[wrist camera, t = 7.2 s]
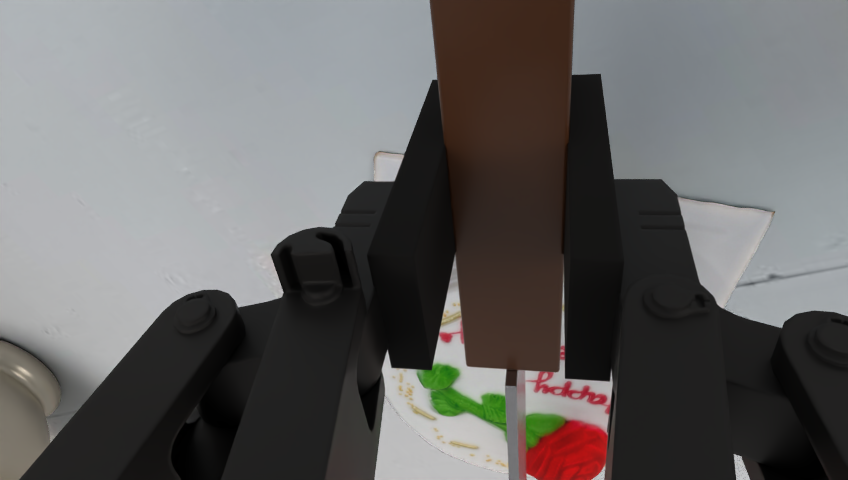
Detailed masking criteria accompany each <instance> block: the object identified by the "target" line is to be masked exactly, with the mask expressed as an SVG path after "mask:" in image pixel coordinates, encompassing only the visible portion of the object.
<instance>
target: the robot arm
mask: <svg viewBox="0 0 848 480" xmlns="http://www.w3.org/2000/svg"><path fill="white" fill-rule="evenodd" d="M455 253H456V250H455V240H454V230H453V220H452V210H451V200H450V190H449V180H448V170H447V160H446V150H445V145H444V139H443V129H442V119H441V109H440V99H439V89H438V80H432V83H431V85H430V88H429V91H428V93H427V96H426V99H425V101H424V104H423V107H422V109H421V112H420V115H419V117H418V120H417V123H416V125H415V128H414V131H413V133H412V136H411V139H410V141H409V144H408V146H407V149H406V152H405V154H404V157H403V160H402V162H401V165H400V168H399V170H398V173H397V176H396V178H395V181H364V182H363V183H362V184H361V185H359V186H358V187H357V188H356V189H355V190H354V191H353V192H351V193H350V194H349V195H348V197H347V199H346V201H345V204H344V206H343V208H342V210H341V214H339V216H338V219H337V221H336V223H335V227H333V228H324V227H317V228H311V229H305V230H302V231H299V232H297V233H295V234H292V235H290V236H288V237H287V238H286V239H284V240H283V241H282V242H280V243H279V244H278V245H277V246H276V247H275V249H274V250H273V252H272V253H271V257H272V260H273V263H274V266H275V269H276V271H277V274H278V277H279V280H280V283H281V286H282V289H283V292H284V293H283V296H282V297H281V298H279V299H275V300H272V301H268V302H264V303H259V304H254V305H249V306H244V307H239V308H238V307H237V304H236V302H235V300H234V299H233V298H232V297H231V296H230V295H229V294H228V293H225V292H222V291H219V290H202V291H198V292H195V293H191V294H188V295H186V296H184V297H182V298H180V299H178V300H177V301H175V302H173V303H172V304H171V305H170V306H169V307H168V308H166V309H165V310H164V311H163V312H162V313H161V314H160V316H159V317H158V318H157V319H156V320H155V321H154V323H153V324H152V325H151V326H150V327H149V328H148V330H147V331H146V332H145V333H144V334H143V335H142V337H141V338H140V339H139V340H138V341H137V342H136V344H135V345H134V346H133V347H132V348H131V349H130V351H129V352H128V353H127V354H126V355H125V356H124V358H123V359H122V360H121V361H120V362H119V363H118V365H117V366H116V367H115V368H114V369H113V370H112V372H111V373H110V374H109V375H108V376H107V377H106V379H105V380H104V381H103V382H102V383H101V384H100V386H99V387H98V388H97V389H96V390H95V392H94V393H93V394H92V395H91V396H90V397H89V399H88V400H87V401H86V402H85V403H84V404H83V406H82V407H81V408H80V409H79V410H78V411H77V413H76V414H75V415H74V416H73V417H72V418H71V420H70V421H69V422H68V423H67V424H66V425H65V427H64V428H63V429H62V430H61V431H60V432H59V434H58V435H57V436H56V437H55V438H54V439H53V441H52V442H51V443H50V444H49V445H48V446H47V448H46V449H45V450H44V451H43V452H42V453H41V455H40V456H39V457H38V458H37V459H36V460H35V462H34V463H33V464H32V465H31V466H30V467H29V469H28V470H27V471H26V472H25V473H24V474H23V476H22V477H21V478H20V479H19V480H374V477H375V469H376V461H377V453H378V444H379V436H380V428H381V420H382V412H383V404H384V396H385V383H384V377H383V373H382V367H383V363H384V360H385V356H386V353H387V350H388V354H389V359H390V363H391V368H400V369H416V370H432V366H433V362H434V357H435V352H436V347H437V342H438V337H439V332H440V327H441V322H442V317H443V312H444V307H445V302H446V298H447V293H448V288H449V283H450V278H451V273H452V268H453V263H454V258H455ZM564 334H565V379H576V380H591V381H607V382H610V377H611V369H612V381H613V386H612V394H611V402H610V410H609V418H608V426H607V433H608V440H607V453H606V466H605V480H736V474H735V464H734V454H736V455H739V456H742V460H743V462H744V465H745V467H746V470H747V472H748V475H749V477H750V480H848V316H845V315H841V314H838V313H835V312H824V311H809V312H804V313H799V314H796V315H794V316H793V317H791V318H790V319H788V320H787V321H785V322H784V325H783V327H782V328H779V327H775V326H771V325H767V324H764V323H760V322H756V321H752V320H749V319H746V318H743V317H740V316H737V315H734V314H732V313H731V312H729V311H727V310H725V309H723V308H721V307H720V306H719V305H717V303H716V300H715V298H714V296H713V295H712V294H711V293H710V292H709V291H708V290H707V289H706V288H705V287H704V286H703V285H701V284H700V282H699V278H698V274H697V270H696V266H695V262H694V259H693V255H692V251H691V247H690V243H689V239H688V236H687V232H686V230H685V224H684V220H683V217H682V215H681V209H680V205H679V201H678V197H677V194H676V193H675V192H674V191H673V190H672V189H671V188H670V187H669V186H668V185H667V184H666V183H665V182H664V181H663V180H662V179H614V175H613V167H612V159H611V152H610V144H609V136H608V128H607V120H606V112H605V104H604V96H603V88H602V80H601V74H586V75H572V79H571V104H570V128H569V143H568V157H567V183H566V210H565V236H564Z"/></svg>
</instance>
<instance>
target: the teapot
mask: <svg viewBox="0 0 848 480" xmlns="http://www.w3.org/2000/svg"><path fill="white" fill-rule="evenodd" d="M60 401H61V389H60V386H59V383H58V381H57V379H56V378H55V376H54V375H53V374H52V372H51V371H50V370H49V369H48V368H47V367H46V366H45V365H44V364H43V363H42V362H40V361H39V360H38V359H37V358H35V357H34V356H32V355H31V354H29V353H28V352H26V351H24V350H23V349H21V348H19V347H17V346H15V345H13V344H10V343H8V342H5V341H2V340H0V480H19V479H20V478H21V477H22V476H23V474H24V473H25V472H26V471H27V470H28V469H29V467H30V466H31V465H32V464H33V463H34V462H35V460H36V459H37V458H38V457H39V456H40V455H41V453H42V452H43V451H44V450H45V449H46V448H47V446H48V445H49V444H50V433H49V427H48V423H47V419H46V417H48V416H49V415H51V414H52V413H53V412H54V411H55V410H56V409H57V407H58V406H59V403H60Z"/></svg>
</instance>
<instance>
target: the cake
mask: <svg viewBox="0 0 848 480" xmlns="http://www.w3.org/2000/svg"><path fill="white" fill-rule="evenodd" d="M403 157H404V155H401V154H390V153H384V152H378V153H376V155H375V156H374V171H375V172H374V181H395V178H396V176H397V173H398V170H399V168H400V165H401V162H402V160H403ZM678 201H679V205H680V209H681V215H682V217H683V220H684V224H685V230H686V232H687V236H688V239H689V243H690V247H691V251H692V255H693V259H694V262H695V266H696V270H697V274H698V278H699V282H700V284H701V285H703V286H704V287H705V288H706V289H707V290H708V291H709V292H710V293H711V294H712V295H713V296H714V298H715V300H716V303H717V305H719V306H720V307H721V308H723V309H724V308H725V305H726V303H727V302H728V300H729V298H730V296H731V294H732V292H733V290H734V288H735V287H736V285H737V283H738V281H739V280H740V278H741V276H742V274H743V273H744V271H745V269H746V268H747V266H748V264H749V262H750V261H751V259H752V257H753V255H754V253H755V252H756V250H757V248H758V246H759V244H760V242H761V240H762V239H763V237H764V235H765V233H766V231H767V229H768V227H769V226H770V223H771V220H772V218H773V215H774V213H775V212H768V211H763V210H759V209H753V208H737V207H733V206H728V205H723V204H718V203H714V202H700V201H695V200H690V199H685V198H680V197H678ZM382 373H383V377H384V383H385V397H386V398H387V399H388V402H389V403H390V405H391V406H392V408H393V409H394V410H395V411H396V413H397V415H398V416H399V417H400V418H401V419H402V420H403V421H404V422H405V423H406V424H407V425H408V426H409V427H410V428H411V429H413V430H414V431H415V432H416V433H417V434H418V435H419V436H420V437H422V438H423V439H424V440H425V441H426V442H428V443H429V444H430V445H432V446H434V447H435V448H437V449H438V450H440V451H441V452H443V453H446V454H448V455H450V456H452V457H454V458H457V459H459V460H462V461H464V462H466V463H469V464H473V465H475V466H479V467H482V468H485V469H489V470H492V471H497V472H501V473H506V474H509V470H508V447H507V424H506V401H505V379H506V369H493V368H478V367H468V366H467V365H466V359H465V349H464V339H463V329H462V319H461V309H460V299H459V289H458V279H457V269H456V259H455V258H454V263H453V268H452V273H451V278H450V283H449V288H448V293H447V298H446V302H445V307H444V312H443V317H442V322H441V327H440V332H439V337H438V342H437V347H436V352H435V357H434V362H433V366H432V370H416V369H400V368H391V363H390V359H389V354H388V350H387V353H386V356H385V360H384V363H383V367H382ZM612 386H613V381H612V369H611V377H610V382H607V381H591V380H576V379H565V334H564V277H563V301H562V326H561V351H560V370H559V372H556V373H555V372H540V371H525V395H526V477H531V478H532V477H534V478H536V479H537V480H592V479H593V478H594V477H596V476H597V475H598V474H599V473H600V472H601V471H605V466H606V453H607V440H608V433H607V426H608V418H609V410H610V402H611V394H612Z"/></svg>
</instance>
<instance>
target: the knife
mask: <svg viewBox="0 0 848 480" xmlns="http://www.w3.org/2000/svg"><path fill="white" fill-rule="evenodd" d="M574 5H575V0H430V9H431V19H432V29H433V39H434V49H435V59H436V69H437V79H438V89H439V99H440V109H441V119H442V129H443V139H444V145H445V150H446V160H447V170H448V180H449V190H450V200H451V210H452V220H453V230H454V240H455V250H456V253H455V259H456V269H457V279H458V289H459V299H460V309H461V319H462V329H463V339H464V349H465V359H466V365H467V366H468V367H478V368H493V369H506V379H505V401H506V424H507V447H508V470H509V480H526V395H525V371H540V372H555V373H556V372H559V370H560V351H561V326H562V301H563V277H564V236H565V210H566V183H567V157H568V143H569V128H570V104H571V79H572V54H573V29H574Z"/></svg>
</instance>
